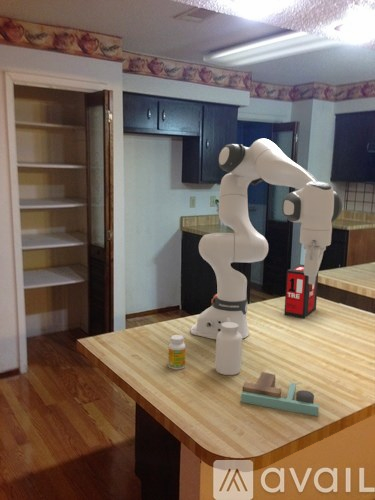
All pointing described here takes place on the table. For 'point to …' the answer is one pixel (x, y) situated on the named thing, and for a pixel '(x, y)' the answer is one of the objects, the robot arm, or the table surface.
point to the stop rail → (281, 402)
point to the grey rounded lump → (305, 396)
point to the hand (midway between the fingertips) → (311, 283)
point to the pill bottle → (228, 349)
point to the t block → (263, 386)
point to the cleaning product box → (299, 293)
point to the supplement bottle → (176, 352)
